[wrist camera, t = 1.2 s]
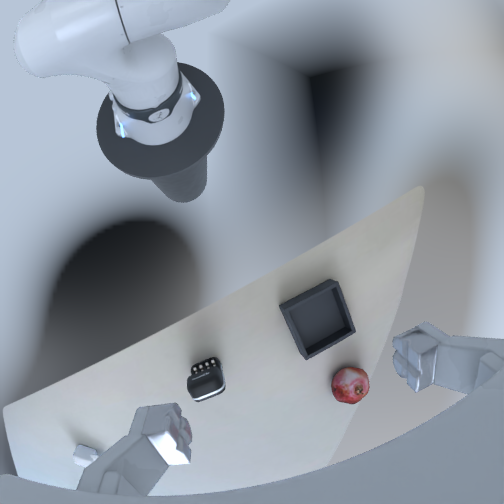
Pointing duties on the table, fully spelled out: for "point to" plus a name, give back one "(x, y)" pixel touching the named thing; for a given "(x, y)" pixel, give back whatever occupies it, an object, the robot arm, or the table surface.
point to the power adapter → (84, 455)
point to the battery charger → (206, 380)
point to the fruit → (350, 385)
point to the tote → (318, 318)
